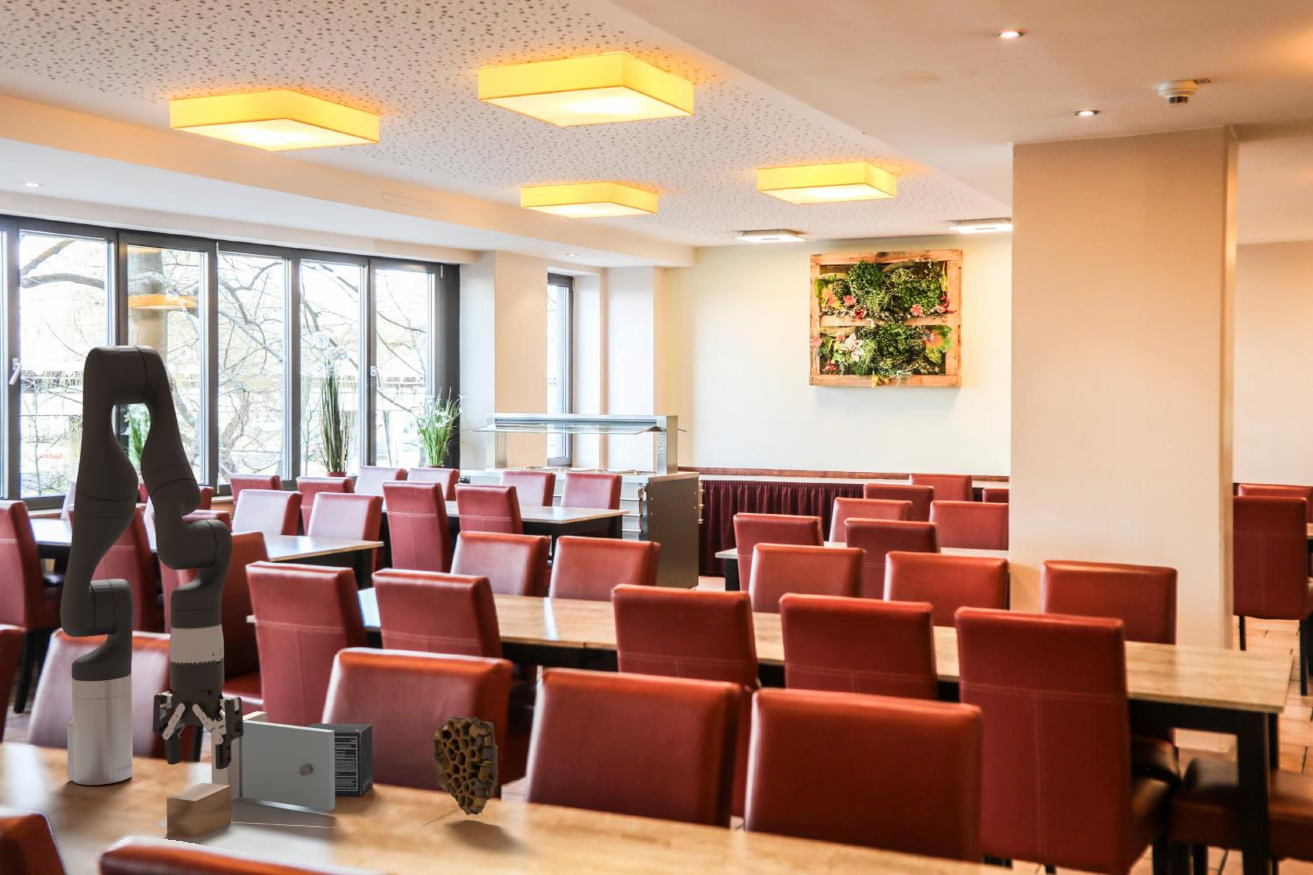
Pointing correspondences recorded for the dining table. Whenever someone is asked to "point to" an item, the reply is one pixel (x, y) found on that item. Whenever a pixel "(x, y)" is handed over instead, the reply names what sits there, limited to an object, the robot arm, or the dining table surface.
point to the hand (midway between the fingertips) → (198, 765)
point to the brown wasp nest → (467, 761)
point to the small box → (351, 757)
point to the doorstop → (199, 809)
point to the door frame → (232, 771)
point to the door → (287, 764)
